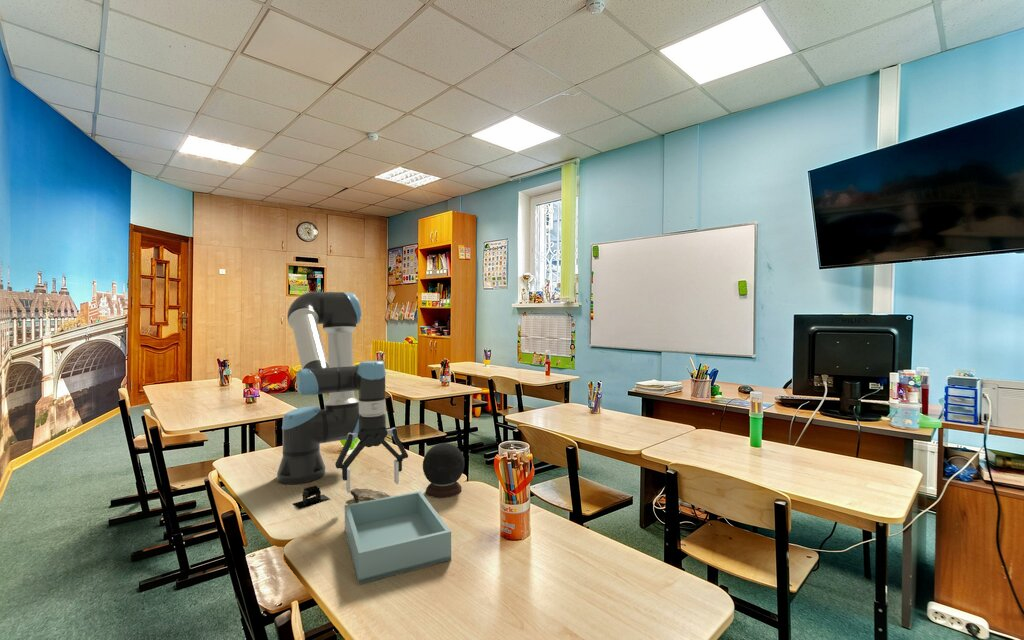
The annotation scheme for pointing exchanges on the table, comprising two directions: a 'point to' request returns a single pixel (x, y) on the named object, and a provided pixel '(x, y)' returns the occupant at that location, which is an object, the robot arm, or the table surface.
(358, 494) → the rock
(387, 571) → the storage tub
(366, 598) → the table surface
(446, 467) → the black globe on stand
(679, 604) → the table surface
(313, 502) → the build plate
